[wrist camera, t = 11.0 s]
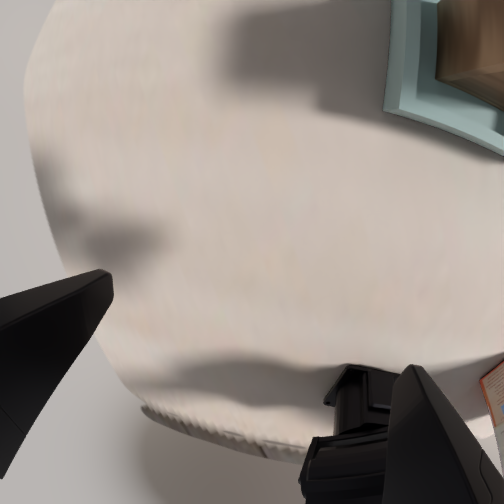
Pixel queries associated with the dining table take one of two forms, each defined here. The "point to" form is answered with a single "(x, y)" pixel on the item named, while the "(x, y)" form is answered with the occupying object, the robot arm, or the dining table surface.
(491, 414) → the cracker box
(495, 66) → the brown tall open box
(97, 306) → the robot arm
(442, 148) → the dining table surface
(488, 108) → the teal square tray
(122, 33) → the dining table surface
